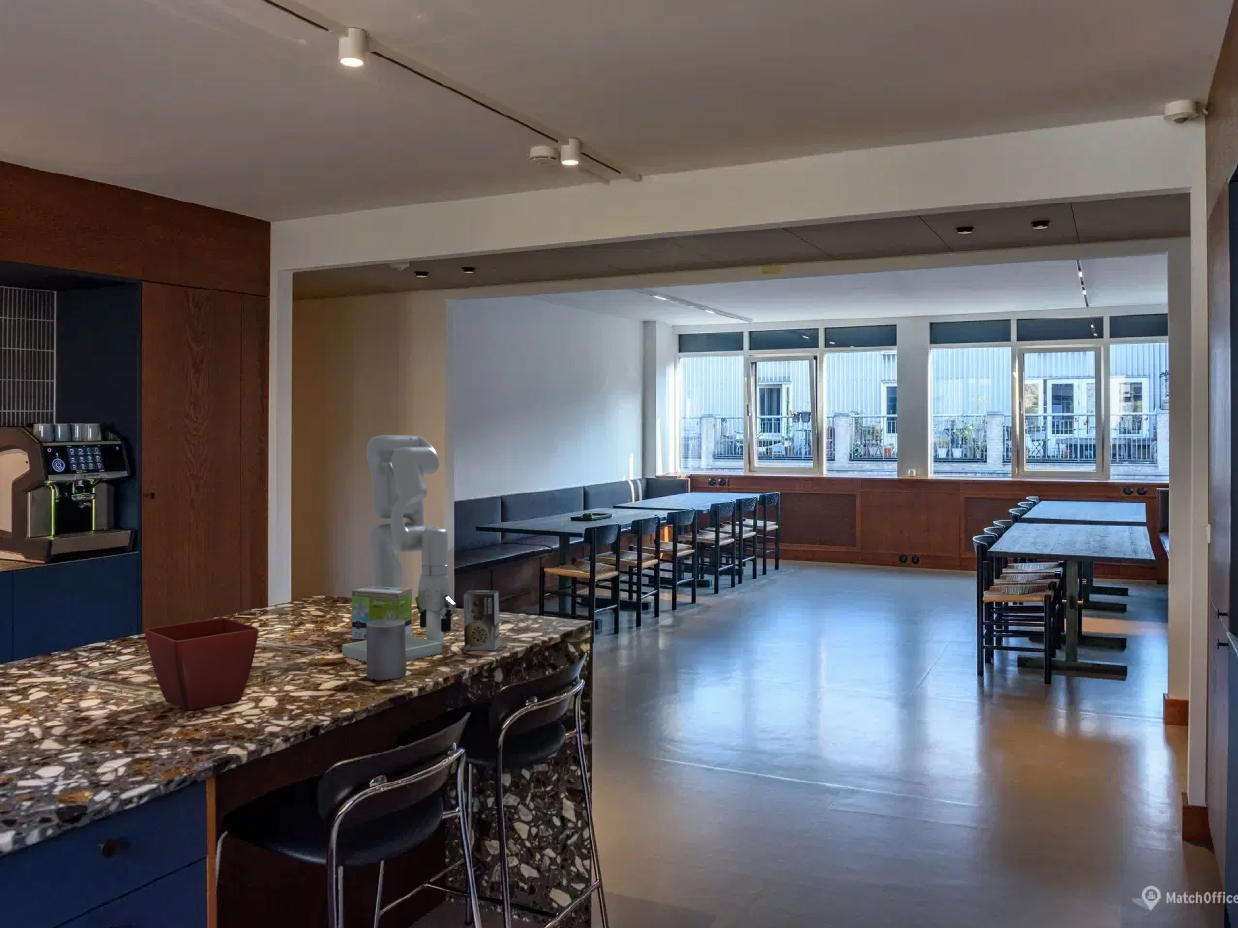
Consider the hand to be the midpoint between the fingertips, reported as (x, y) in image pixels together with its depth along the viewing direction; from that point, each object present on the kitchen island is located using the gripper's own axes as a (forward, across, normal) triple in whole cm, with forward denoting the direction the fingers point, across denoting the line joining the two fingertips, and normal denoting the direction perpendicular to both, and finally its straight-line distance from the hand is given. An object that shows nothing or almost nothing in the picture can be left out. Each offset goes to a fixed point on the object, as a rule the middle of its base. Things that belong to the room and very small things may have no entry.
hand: (435, 629), depth 295 cm
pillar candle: (+4, +22, -33) cm, 40 cm away
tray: (+4, +4, -18) cm, 19 cm away
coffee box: (+4, +16, +4) cm, 17 cm away
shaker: (+4, 0, 0) cm, 4 cm away
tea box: (+4, -16, -7) cm, 18 cm away
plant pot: (+4, +10, -75) cm, 76 cm away
